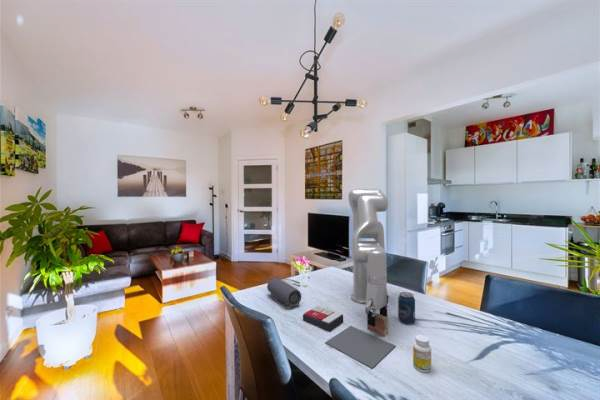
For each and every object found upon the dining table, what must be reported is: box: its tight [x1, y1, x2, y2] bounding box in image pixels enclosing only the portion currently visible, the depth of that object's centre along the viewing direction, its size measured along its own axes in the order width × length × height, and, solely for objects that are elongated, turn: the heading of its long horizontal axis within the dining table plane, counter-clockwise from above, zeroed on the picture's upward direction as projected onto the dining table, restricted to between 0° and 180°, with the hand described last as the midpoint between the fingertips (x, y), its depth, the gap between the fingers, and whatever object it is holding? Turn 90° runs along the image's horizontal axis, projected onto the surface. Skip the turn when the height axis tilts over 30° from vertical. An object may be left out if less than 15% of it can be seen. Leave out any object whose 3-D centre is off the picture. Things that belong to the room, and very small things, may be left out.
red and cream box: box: [302, 306, 344, 333], centre depth 111 cm, size 11×4×15 cm
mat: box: [325, 325, 397, 370], centre depth 93 cm, size 17×20×1 cm
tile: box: [366, 310, 389, 337], centre depth 102 cm, size 3×8×7 cm, turn 44°
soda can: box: [397, 291, 416, 325], centre depth 110 cm, size 7×7×12 cm
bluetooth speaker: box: [266, 277, 302, 307], centre depth 133 cm, size 23×9×10 cm, turn 34°
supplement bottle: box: [412, 334, 432, 373], centre depth 81 cm, size 5×5×10 cm
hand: (377, 321), depth 101 cm, fingers open, 9 cm apart
